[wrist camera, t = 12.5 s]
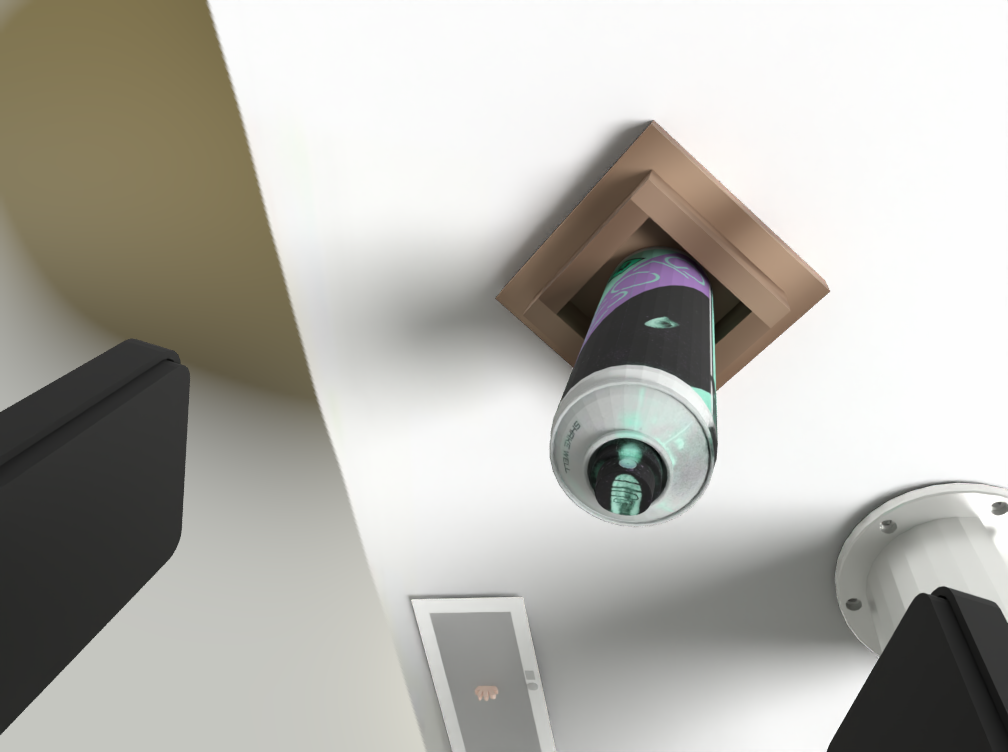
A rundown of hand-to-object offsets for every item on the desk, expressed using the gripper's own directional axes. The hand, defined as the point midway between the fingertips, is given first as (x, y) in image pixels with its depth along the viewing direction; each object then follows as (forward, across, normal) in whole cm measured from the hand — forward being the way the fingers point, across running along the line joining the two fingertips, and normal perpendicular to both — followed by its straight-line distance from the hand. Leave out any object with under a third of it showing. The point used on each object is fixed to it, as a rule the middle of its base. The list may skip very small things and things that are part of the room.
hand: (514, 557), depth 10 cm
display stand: (+35, -2, +7) cm, 35 cm away
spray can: (+33, -3, +7) cm, 33 cm away
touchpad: (+35, 0, +37) cm, 51 cm away
